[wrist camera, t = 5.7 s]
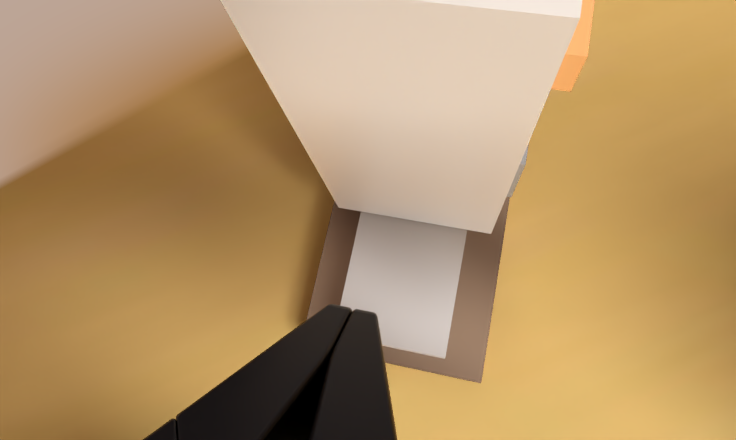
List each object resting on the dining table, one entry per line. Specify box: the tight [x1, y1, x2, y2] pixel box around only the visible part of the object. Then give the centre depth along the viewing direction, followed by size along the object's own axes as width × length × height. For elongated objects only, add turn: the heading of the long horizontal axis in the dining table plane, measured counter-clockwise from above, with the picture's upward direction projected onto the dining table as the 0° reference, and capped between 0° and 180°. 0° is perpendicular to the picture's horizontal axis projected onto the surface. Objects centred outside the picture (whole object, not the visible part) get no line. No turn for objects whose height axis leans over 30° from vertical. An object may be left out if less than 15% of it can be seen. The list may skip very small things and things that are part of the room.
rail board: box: [307, 197, 510, 383], centre depth 18 cm, size 9×6×5 cm, turn 168°
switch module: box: [220, 0, 595, 234], centre depth 13 cm, size 4×6×11 cm, turn 78°
